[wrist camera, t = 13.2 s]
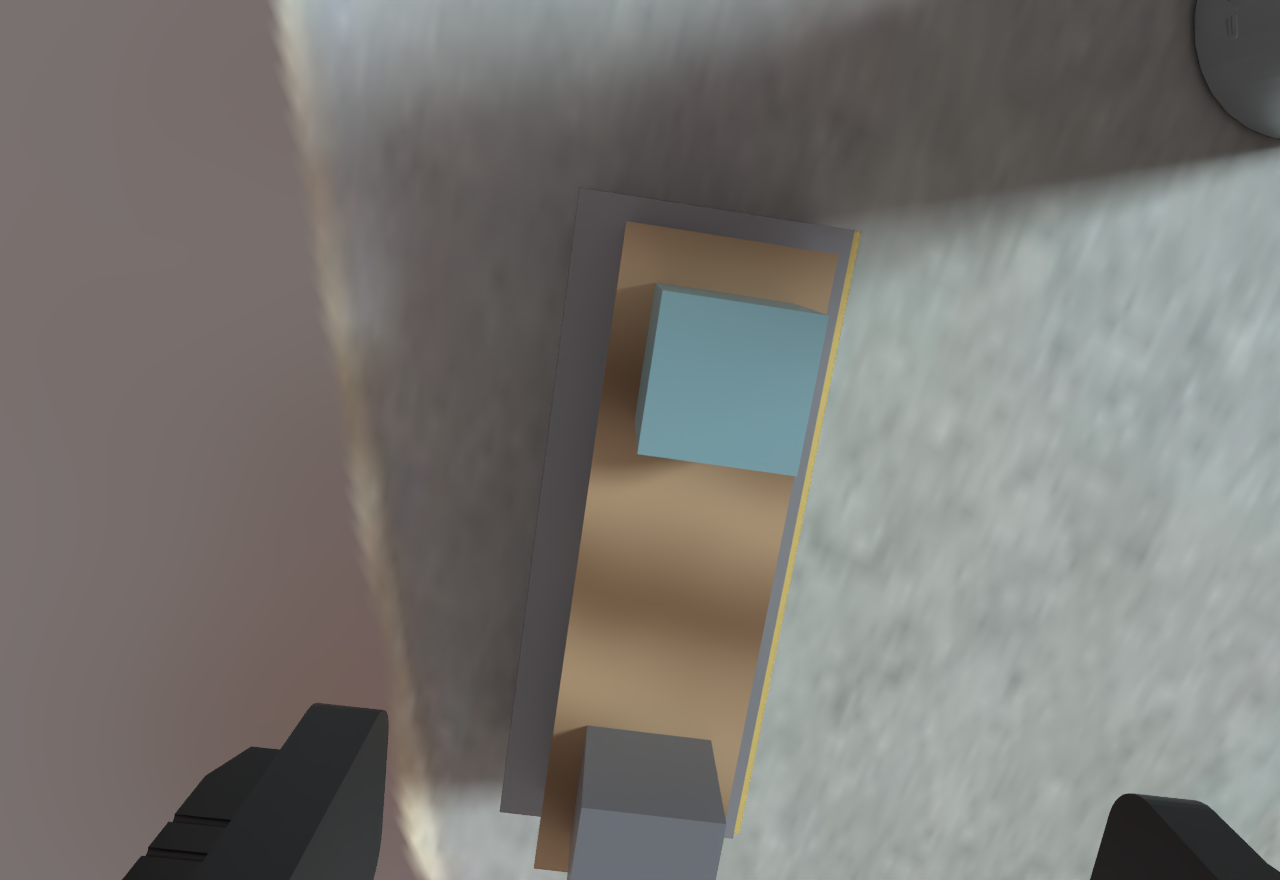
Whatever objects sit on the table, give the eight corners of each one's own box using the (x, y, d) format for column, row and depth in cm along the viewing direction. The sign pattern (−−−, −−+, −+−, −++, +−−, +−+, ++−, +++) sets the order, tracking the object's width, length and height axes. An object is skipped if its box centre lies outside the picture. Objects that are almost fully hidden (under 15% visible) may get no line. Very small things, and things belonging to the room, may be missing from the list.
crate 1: (711, 740, 27) (726, 823, 23) (690, 847, 28) (702, 945, 24) (587, 725, 27) (581, 807, 23) (571, 833, 28) (563, 930, 24)
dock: (826, 233, 32) (863, 231, 27) (724, 761, 37) (740, 839, 32) (585, 195, 32) (579, 187, 27) (515, 736, 37) (499, 812, 32)
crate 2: (794, 303, 24) (829, 315, 20) (769, 439, 25) (797, 476, 21) (655, 282, 24) (662, 290, 20) (634, 420, 24) (637, 454, 21)
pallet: (625, 224, 27) (626, 221, 23) (807, 252, 27) (838, 254, 24) (544, 791, 32) (533, 868, 28) (700, 809, 32) (712, 888, 28)
